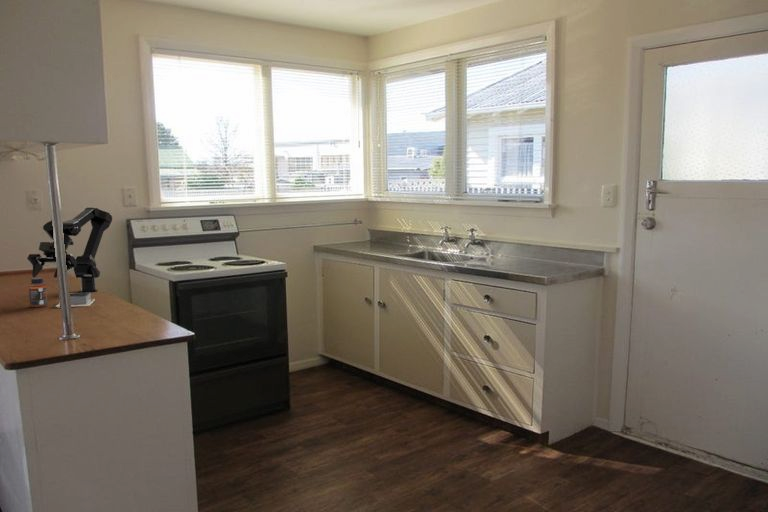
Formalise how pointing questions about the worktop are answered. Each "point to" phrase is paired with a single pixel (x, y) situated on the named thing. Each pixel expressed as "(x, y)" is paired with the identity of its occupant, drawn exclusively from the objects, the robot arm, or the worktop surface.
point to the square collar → (80, 299)
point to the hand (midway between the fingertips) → (43, 277)
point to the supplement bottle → (37, 293)
